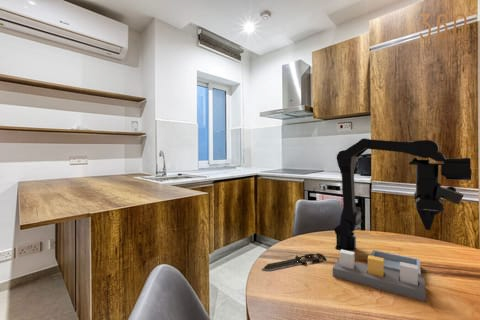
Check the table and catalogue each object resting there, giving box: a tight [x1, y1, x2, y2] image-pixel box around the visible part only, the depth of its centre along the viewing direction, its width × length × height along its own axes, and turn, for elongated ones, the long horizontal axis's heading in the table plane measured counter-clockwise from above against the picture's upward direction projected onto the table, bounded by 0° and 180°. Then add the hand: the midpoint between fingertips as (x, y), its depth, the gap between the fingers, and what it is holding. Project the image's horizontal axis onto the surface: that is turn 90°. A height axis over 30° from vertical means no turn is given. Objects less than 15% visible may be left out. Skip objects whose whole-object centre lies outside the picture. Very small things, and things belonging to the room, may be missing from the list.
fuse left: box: [339, 249, 356, 270], centre depth 74 cm, size 4×2×7 cm, turn 53°
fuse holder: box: [332, 257, 427, 303], centre depth 69 cm, size 23×8×2 cm, turn 53°
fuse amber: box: [367, 254, 384, 277], centre depth 69 cm, size 4×2×7 cm, turn 53°
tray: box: [370, 249, 422, 278], centre depth 77 cm, size 14×12×2 cm
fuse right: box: [400, 262, 418, 286], centre depth 64 cm, size 4×2×7 cm, turn 53°
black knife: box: [260, 252, 327, 272], centre depth 82 cm, size 25×6×1 cm, turn 103°
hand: (426, 225), depth 76 cm, fingers open, 9 cm apart
